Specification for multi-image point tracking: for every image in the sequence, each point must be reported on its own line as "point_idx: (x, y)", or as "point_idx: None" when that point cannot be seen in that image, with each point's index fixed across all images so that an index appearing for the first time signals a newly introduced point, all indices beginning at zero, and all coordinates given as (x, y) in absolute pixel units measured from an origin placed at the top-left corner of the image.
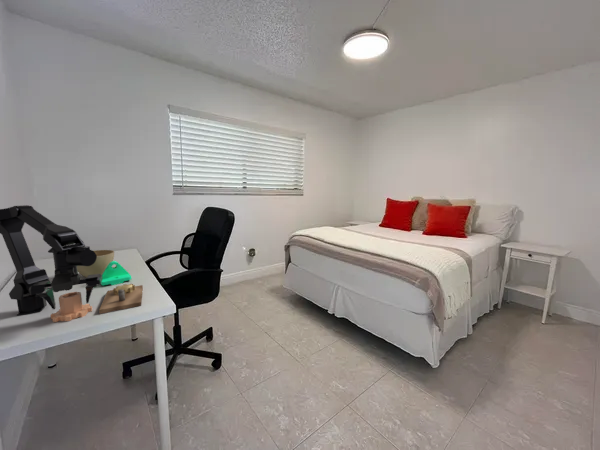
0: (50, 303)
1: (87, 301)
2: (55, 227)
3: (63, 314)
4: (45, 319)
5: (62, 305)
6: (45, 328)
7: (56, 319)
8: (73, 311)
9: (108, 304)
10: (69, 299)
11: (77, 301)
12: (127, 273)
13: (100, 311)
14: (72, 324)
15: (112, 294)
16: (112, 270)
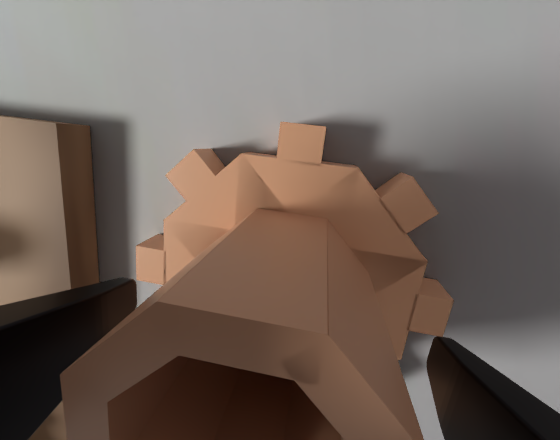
0: (530, 406)
1: (106, 284)
2: None
3: (345, 232)
4: (477, 307)
5: (352, 287)
6: (480, 67)
7: (399, 180)
8: (257, 211)
9: (13, 223)
10: (230, 286)
11: (171, 279)
12: None
13: (63, 123)
14: (265, 5)
15: (42, 435)
16: None
